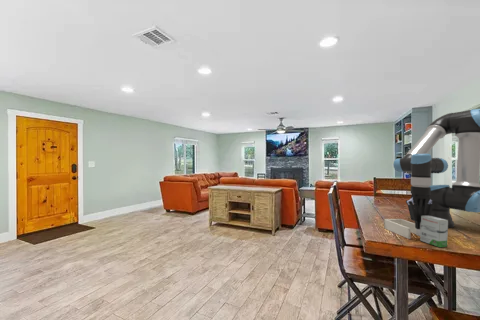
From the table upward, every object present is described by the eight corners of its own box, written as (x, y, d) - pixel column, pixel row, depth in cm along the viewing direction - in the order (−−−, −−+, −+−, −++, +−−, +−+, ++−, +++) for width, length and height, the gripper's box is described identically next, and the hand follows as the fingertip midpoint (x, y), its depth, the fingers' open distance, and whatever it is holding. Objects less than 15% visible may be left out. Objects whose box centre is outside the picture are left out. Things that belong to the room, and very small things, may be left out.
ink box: (448, 247, 100) (449, 219, 100) (439, 247, 99) (440, 220, 99) (427, 239, 109) (428, 214, 109) (419, 240, 108) (420, 215, 108)
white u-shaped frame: (401, 227, 129) (401, 218, 129) (428, 238, 112) (428, 227, 112) (384, 228, 129) (384, 219, 129) (408, 238, 111) (408, 228, 111)
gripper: (427, 185, 114) (426, 233, 114) (401, 185, 113) (400, 233, 113) (440, 187, 106) (440, 238, 106) (413, 187, 106) (413, 238, 106)
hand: (420, 235), depth 110 cm, fingers closed
